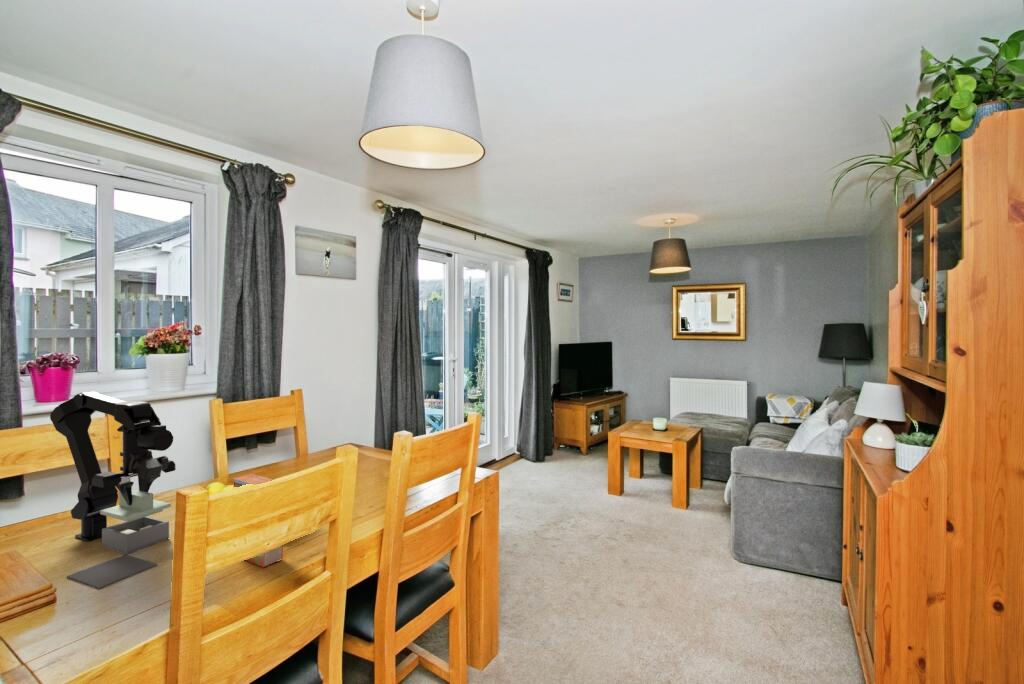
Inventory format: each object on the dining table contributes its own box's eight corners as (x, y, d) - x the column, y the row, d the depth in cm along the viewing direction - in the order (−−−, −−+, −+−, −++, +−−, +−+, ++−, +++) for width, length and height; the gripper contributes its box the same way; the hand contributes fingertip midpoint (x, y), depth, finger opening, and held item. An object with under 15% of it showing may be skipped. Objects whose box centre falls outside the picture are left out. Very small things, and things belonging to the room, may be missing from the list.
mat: (66, 577, 122) (66, 576, 122) (125, 555, 134) (125, 554, 134) (98, 589, 116) (98, 587, 116) (157, 565, 128) (157, 563, 128)
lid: (100, 517, 138) (100, 496, 138) (145, 504, 149) (145, 484, 149) (126, 524, 134) (126, 502, 133) (170, 510, 144) (170, 489, 144)
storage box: (102, 546, 139) (101, 528, 138) (144, 532, 149) (144, 515, 148) (126, 554, 134) (126, 535, 134) (168, 538, 144) (168, 521, 144)
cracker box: (284, 559, 133) (284, 481, 132) (262, 569, 128) (262, 487, 127) (254, 546, 140) (254, 472, 140) (232, 554, 135) (232, 477, 134)
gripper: (116, 458, 129) (116, 519, 129) (187, 443, 146) (188, 497, 146) (90, 454, 133) (90, 512, 134) (163, 440, 150) (163, 491, 151)
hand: (136, 503), depth 141 cm, fingers closed on lid, 3 cm apart
